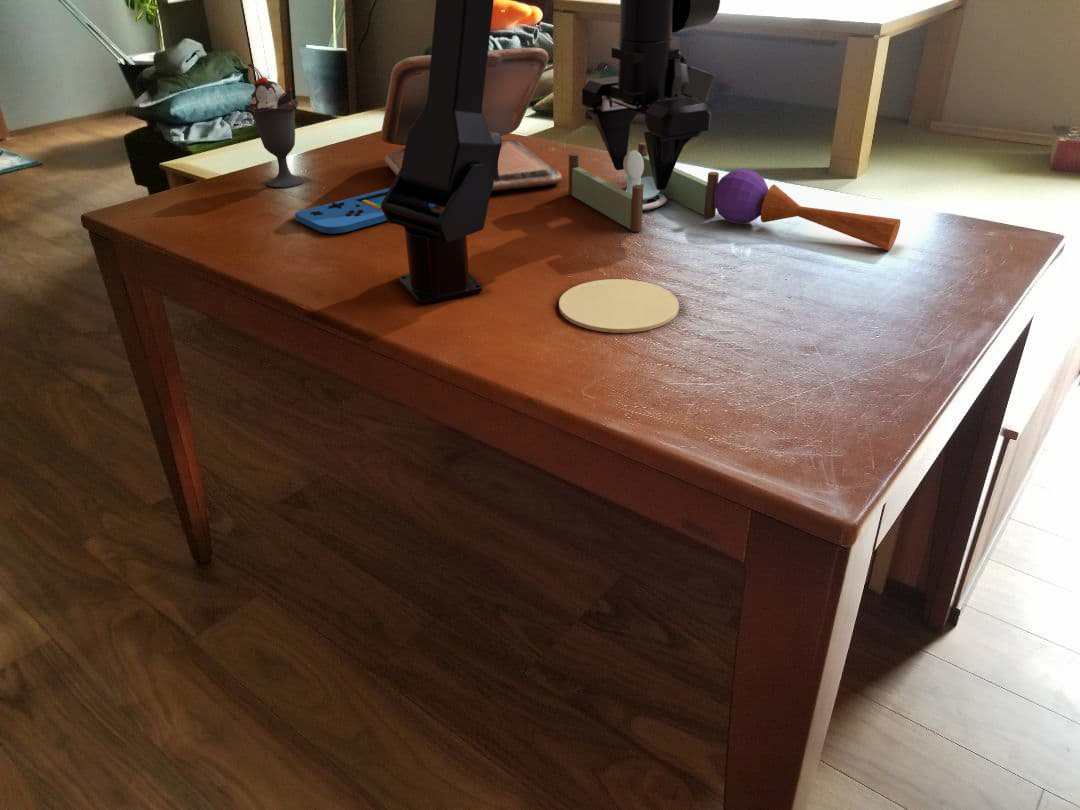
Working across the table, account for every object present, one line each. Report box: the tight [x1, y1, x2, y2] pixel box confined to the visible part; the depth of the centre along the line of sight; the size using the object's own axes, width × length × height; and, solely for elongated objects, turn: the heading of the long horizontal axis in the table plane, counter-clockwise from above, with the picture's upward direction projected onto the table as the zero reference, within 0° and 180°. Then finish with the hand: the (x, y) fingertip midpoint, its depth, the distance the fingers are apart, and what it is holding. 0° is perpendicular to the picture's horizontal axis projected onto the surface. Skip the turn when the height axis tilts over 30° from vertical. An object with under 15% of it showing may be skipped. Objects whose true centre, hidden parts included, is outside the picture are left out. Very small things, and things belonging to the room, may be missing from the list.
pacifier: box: [623, 149, 668, 211], centre depth 103 cm, size 7×6×6 cm
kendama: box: [714, 168, 901, 252], centre depth 94 cm, size 6×6×20 cm
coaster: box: [558, 278, 680, 334], centre depth 80 cm, size 11×11×1 cm
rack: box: [568, 141, 720, 233], centre depth 103 cm, size 16×11×5 cm
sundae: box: [244, 62, 306, 189], centre depth 112 cm, size 7×7×15 cm
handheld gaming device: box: [294, 187, 437, 235], centre depth 103 cm, size 8×1×15 cm
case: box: [380, 47, 563, 192], centre depth 113 cm, size 20×21×16 cm
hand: (639, 179), depth 103 cm, fingers open, 9 cm apart
